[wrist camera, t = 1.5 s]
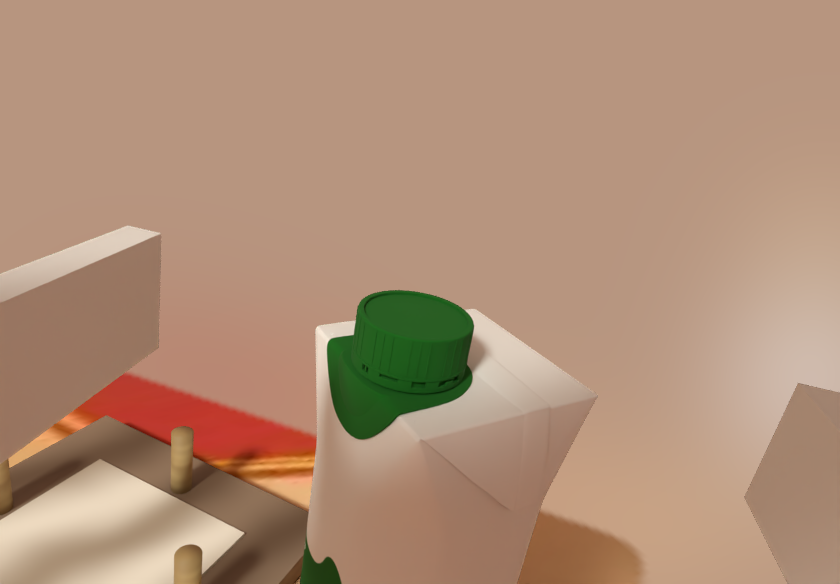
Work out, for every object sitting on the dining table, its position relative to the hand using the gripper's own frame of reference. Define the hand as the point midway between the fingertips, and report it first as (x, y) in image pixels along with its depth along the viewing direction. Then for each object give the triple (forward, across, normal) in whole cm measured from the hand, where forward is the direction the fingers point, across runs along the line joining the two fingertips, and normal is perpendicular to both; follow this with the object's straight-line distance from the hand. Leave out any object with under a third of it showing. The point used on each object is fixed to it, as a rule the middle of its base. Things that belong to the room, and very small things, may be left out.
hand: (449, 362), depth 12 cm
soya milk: (+9, 0, -22) cm, 24 cm away
